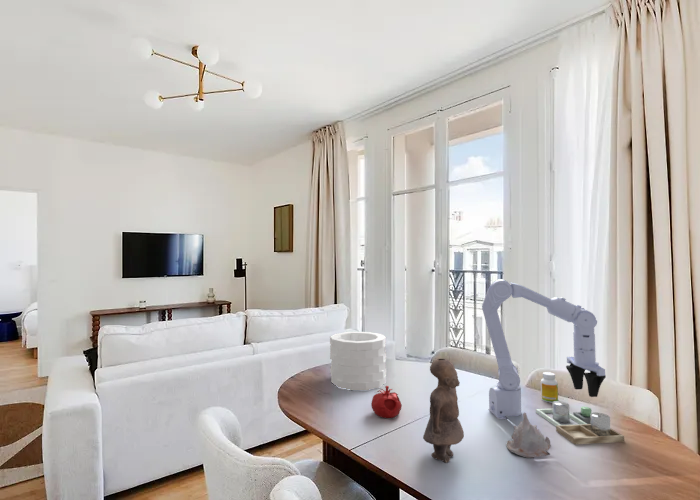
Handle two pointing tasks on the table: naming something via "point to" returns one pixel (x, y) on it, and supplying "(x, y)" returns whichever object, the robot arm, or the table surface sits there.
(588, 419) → the frame
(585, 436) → the divided tray
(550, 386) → the supplement bottle
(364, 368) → the basket
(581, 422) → the pale green tray
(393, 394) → the pomegranate
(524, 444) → the seashell
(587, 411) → the button
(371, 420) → the table surface
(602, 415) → the cylinder
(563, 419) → the billet
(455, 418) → the clay figurine
